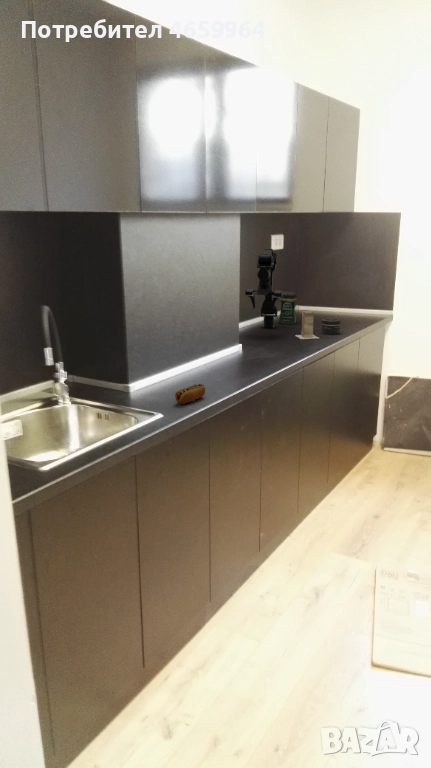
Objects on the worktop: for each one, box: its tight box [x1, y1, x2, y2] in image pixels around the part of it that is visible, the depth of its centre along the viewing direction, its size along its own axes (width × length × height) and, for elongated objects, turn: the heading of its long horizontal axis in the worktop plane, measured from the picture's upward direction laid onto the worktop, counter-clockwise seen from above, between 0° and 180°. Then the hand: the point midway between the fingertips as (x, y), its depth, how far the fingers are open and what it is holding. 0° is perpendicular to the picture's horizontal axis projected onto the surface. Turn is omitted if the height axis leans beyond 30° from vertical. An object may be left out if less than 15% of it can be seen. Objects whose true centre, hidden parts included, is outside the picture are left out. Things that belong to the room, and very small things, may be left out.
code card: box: [295, 334, 319, 340], centre depth 302 cm, size 10×10×1 cm
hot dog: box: [174, 383, 206, 405], centre depth 198 cm, size 5×13×5 cm, turn 143°
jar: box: [320, 317, 342, 336], centre depth 310 cm, size 10×10×8 cm
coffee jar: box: [278, 291, 298, 325], centre depth 339 cm, size 10×8×19 cm
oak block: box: [301, 310, 315, 338], centre depth 300 cm, size 4×4×13 cm
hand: (263, 309), depth 299 cm, fingers open, 9 cm apart
